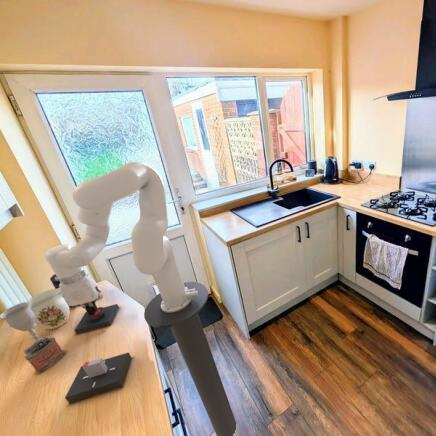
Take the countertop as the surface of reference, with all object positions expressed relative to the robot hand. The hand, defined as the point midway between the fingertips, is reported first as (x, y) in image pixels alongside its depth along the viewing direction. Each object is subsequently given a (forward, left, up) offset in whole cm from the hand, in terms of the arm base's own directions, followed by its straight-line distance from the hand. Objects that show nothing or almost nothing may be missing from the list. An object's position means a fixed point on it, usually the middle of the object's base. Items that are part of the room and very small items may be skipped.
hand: (94, 312), depth 99 cm
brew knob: (-12, +30, -1) cm, 32 cm away
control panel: (-12, +30, -4) cm, 33 cm away
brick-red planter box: (+9, +16, -5) cm, 19 cm away
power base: (0, 0, -4) cm, 4 cm away
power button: (0, 0, -2) cm, 2 cm away
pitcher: (+18, -5, -5) cm, 19 cm away
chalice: (+17, +6, -5) cm, 18 cm away
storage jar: (+15, -19, -5) cm, 25 cm away
